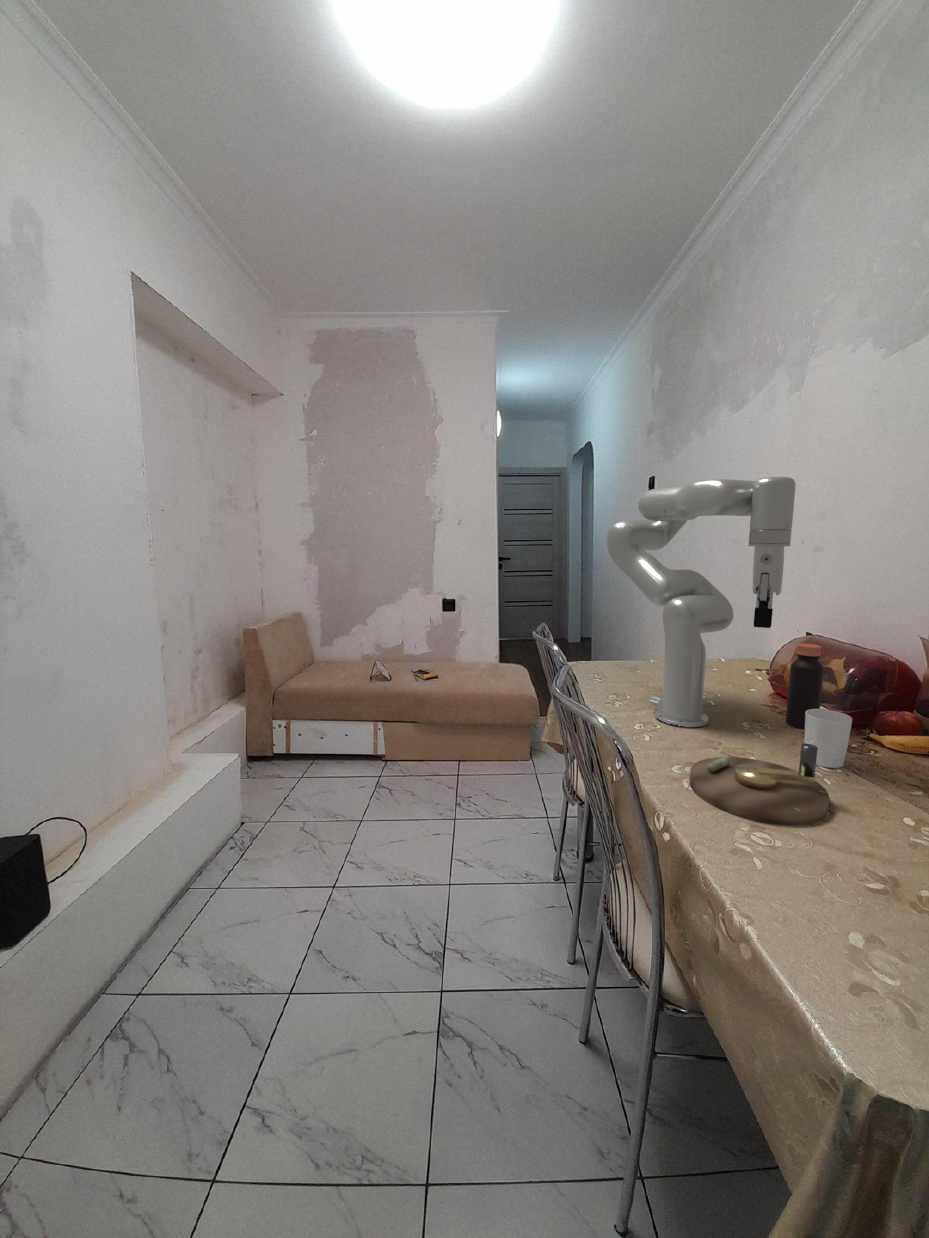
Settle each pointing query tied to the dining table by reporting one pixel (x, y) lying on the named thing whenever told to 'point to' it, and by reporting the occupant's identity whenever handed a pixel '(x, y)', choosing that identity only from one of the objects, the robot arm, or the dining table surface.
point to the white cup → (828, 735)
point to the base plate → (758, 793)
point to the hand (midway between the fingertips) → (762, 626)
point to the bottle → (804, 684)
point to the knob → (778, 771)
